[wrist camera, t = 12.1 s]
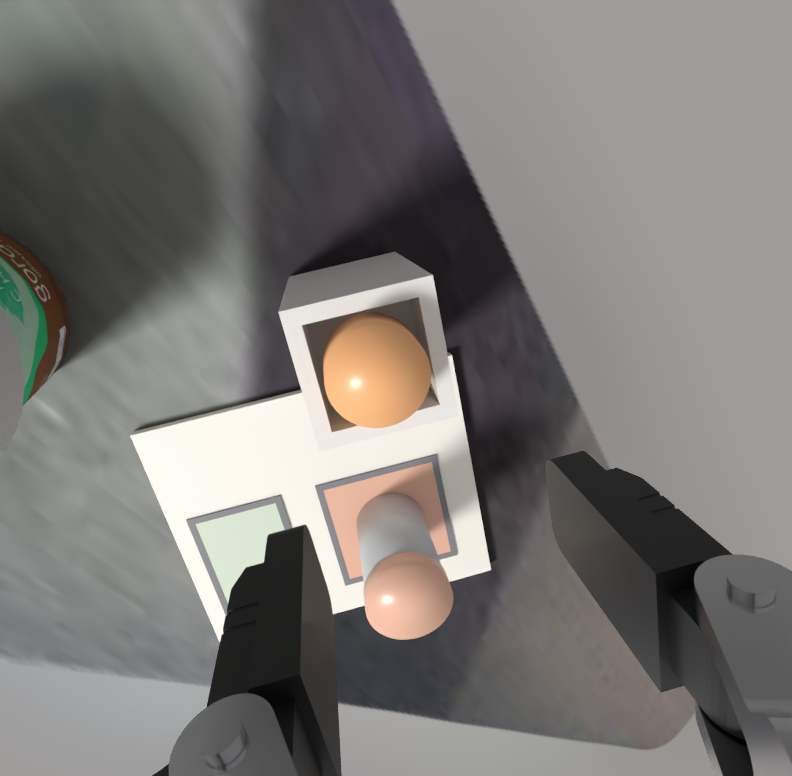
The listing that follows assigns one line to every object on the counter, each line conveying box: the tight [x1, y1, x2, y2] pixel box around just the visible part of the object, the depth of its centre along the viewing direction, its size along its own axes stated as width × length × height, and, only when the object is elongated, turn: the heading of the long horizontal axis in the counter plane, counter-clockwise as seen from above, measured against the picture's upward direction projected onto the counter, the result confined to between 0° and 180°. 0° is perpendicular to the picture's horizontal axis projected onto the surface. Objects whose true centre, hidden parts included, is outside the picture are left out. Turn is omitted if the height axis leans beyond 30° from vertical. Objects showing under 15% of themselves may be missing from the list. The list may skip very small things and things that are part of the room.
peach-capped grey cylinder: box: [356, 493, 453, 640], centre depth 31 cm, size 5×5×8 cm
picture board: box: [130, 352, 491, 642], centre depth 34 cm, size 16×19×1 cm
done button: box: [323, 312, 431, 428], centre depth 21 cm, size 4×4×2 cm
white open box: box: [279, 252, 459, 451], centre depth 26 cm, size 6×6×10 cm
